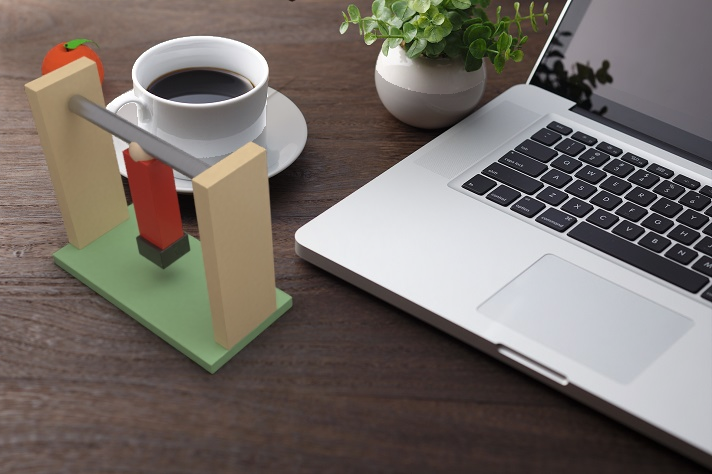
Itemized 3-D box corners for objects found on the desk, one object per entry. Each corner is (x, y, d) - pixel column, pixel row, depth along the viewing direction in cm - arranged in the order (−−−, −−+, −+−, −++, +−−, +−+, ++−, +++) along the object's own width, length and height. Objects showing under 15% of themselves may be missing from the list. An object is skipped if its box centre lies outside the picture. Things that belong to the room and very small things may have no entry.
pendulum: (88, 221, 76) (57, 103, 67) (116, 204, 78) (89, 87, 69) (220, 306, 68) (204, 185, 60) (247, 285, 70) (235, 164, 61)
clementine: (86, 73, 103) (74, 20, 98) (127, 89, 100) (117, 36, 95) (36, 102, 98) (21, 48, 93) (78, 120, 95) (65, 65, 90)
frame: (54, 263, 77) (1, 95, 65) (137, 210, 83) (103, 47, 71) (212, 374, 68) (185, 202, 56) (293, 306, 74) (284, 136, 61)
